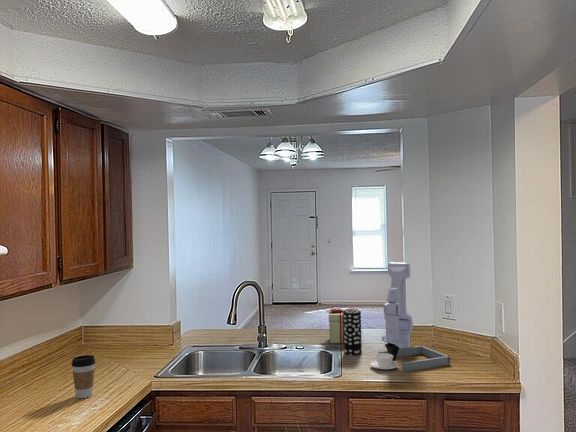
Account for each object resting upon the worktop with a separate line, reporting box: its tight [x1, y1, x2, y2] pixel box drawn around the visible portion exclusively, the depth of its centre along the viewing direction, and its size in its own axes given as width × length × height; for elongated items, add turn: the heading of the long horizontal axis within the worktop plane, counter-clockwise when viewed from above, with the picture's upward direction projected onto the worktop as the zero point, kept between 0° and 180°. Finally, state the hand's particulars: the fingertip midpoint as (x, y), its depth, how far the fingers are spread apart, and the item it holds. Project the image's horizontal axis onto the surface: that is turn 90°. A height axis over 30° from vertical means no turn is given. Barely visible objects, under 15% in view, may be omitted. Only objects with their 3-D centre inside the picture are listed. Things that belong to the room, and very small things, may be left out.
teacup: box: [369, 352, 399, 370], centre depth 215 cm, size 12×12×5 cm
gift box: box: [325, 307, 359, 345], centre depth 265 cm, size 17×18×17 cm
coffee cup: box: [71, 354, 96, 399], centre depth 188 cm, size 8×8×15 cm
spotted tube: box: [343, 309, 363, 356], centre depth 239 cm, size 8×8×20 cm
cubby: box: [378, 345, 451, 372], centre depth 223 cm, size 20×24×4 cm
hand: (393, 360), depth 219 cm, fingers closed
